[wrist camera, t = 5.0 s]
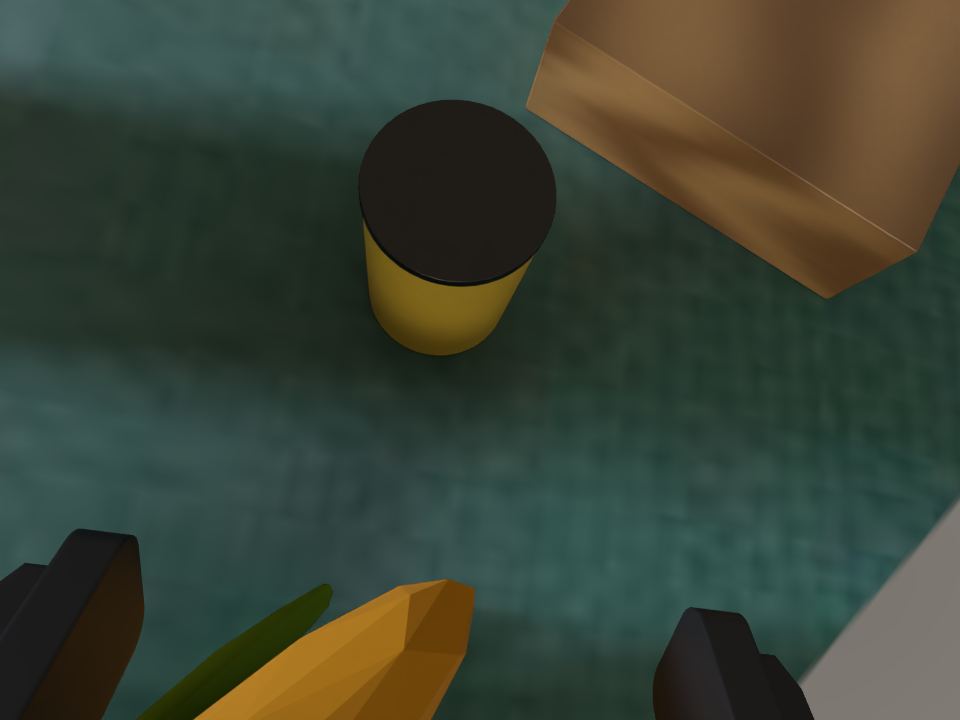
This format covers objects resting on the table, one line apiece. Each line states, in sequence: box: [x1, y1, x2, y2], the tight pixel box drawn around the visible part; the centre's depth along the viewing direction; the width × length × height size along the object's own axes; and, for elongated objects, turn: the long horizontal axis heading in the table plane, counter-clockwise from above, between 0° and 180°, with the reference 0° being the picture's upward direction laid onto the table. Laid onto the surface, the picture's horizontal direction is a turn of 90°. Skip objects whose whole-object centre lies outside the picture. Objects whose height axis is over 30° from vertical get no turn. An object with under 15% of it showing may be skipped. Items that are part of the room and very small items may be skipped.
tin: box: [358, 100, 556, 355], centre depth 22 cm, size 5×5×8 cm
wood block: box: [526, 0, 960, 299], centre depth 27 cm, size 14×14×5 cm
